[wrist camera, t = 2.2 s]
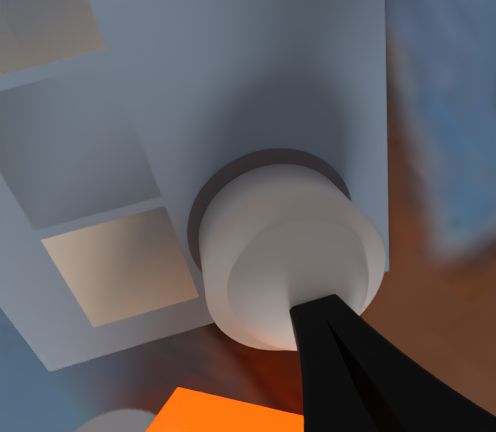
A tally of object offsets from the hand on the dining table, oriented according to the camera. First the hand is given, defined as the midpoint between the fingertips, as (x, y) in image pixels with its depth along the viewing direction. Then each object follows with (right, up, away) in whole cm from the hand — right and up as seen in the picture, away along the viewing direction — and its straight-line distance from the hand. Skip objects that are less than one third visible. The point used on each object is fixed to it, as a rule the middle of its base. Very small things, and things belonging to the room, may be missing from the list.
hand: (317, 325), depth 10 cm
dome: (-1, +2, +4) cm, 5 cm away
